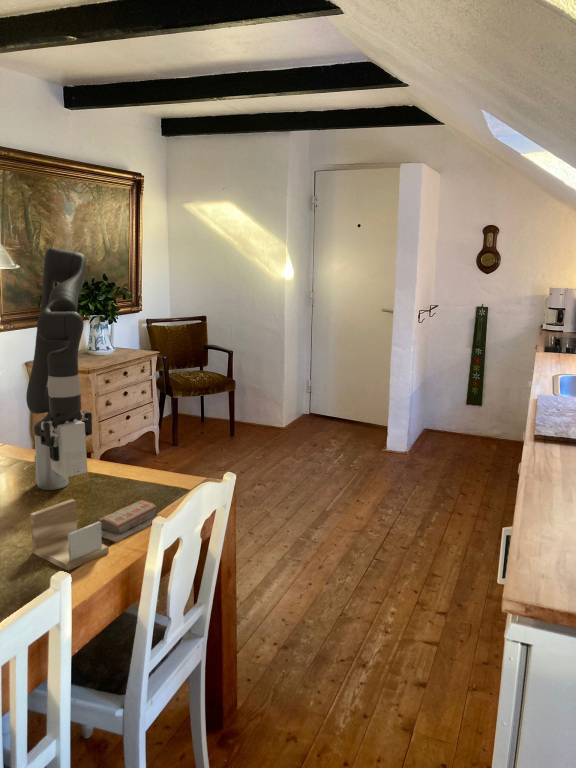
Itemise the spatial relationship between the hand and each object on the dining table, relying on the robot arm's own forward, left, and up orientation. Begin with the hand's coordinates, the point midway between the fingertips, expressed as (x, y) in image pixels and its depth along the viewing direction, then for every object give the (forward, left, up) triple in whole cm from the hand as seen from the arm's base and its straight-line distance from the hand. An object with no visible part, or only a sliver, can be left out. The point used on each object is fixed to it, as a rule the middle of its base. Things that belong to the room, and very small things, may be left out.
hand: (68, 456), depth 163 cm
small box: (0, 0, -4) cm, 4 cm away
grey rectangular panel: (+11, -4, -21) cm, 25 cm away
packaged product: (+4, +15, -24) cm, 28 cm away
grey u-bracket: (+5, -4, -23) cm, 24 cm away
